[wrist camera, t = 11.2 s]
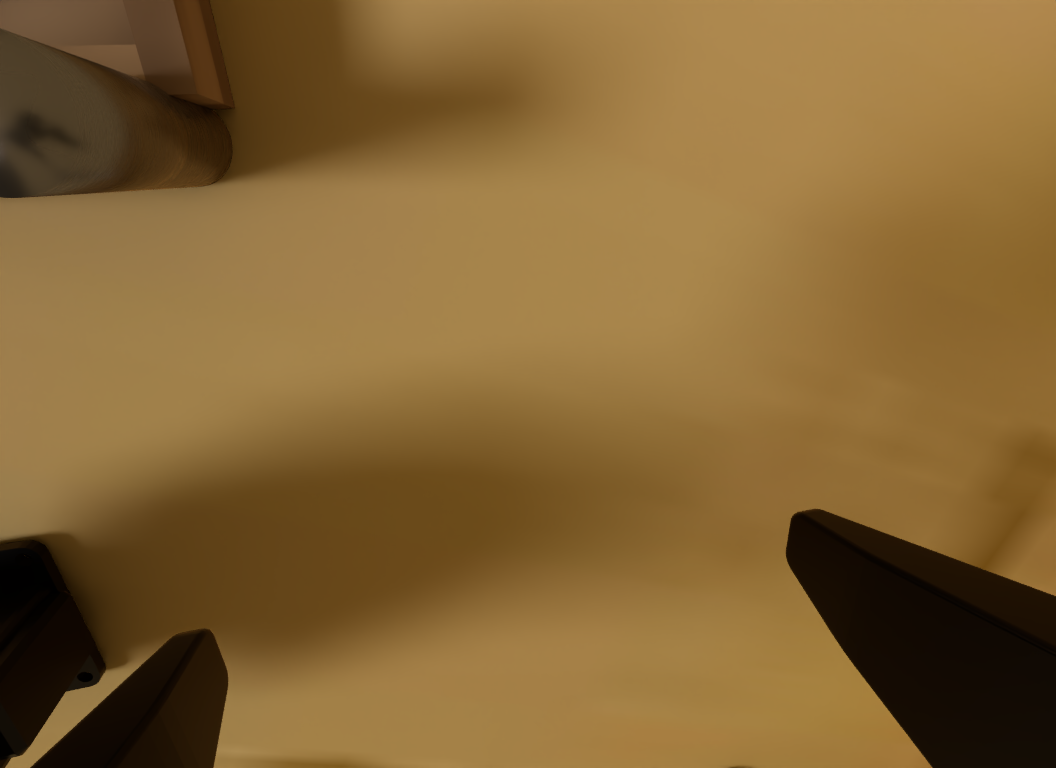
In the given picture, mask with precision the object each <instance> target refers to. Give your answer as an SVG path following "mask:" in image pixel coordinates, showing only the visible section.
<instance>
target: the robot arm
mask: <svg viewBox="0 0 1056 768" xmlns="http://www.w3.org/2000/svg"><path fill="white" fill-rule="evenodd" d="M24 554H27V555H30V556H31V557H32V558H28V557H26V556H25V555H24ZM786 558H787V562H788V564H789V566H790V568H791V570H792V572H793V573H794V575H795V576H796V578H797V579H798V581H799V583H800V584H801V586H802V587H803V589H804V590H805V592H806V594H807V595H808V597H809V598H810V600H811V601H812V603H813V605H814V606H815V608H816V609H817V611H818V612H819V614H820V616H821V617H822V619H823V620H824V622H825V623H826V625H827V627H828V628H829V630H830V631H831V633H832V634H833V636H834V638H835V639H836V641H837V642H838V643H839V645H840V646H841V648H842V649H843V651H844V652H845V654H846V655H847V656H848V658H849V659H850V660H851V662H852V663H853V665H854V666H855V667H856V669H857V670H858V671H859V672H860V674H861V675H862V676H863V678H864V679H865V680H866V682H867V683H868V684H869V685H870V687H871V688H872V689H873V691H874V692H875V693H876V695H877V696H878V697H879V698H880V700H881V701H882V702H883V704H884V705H885V706H886V708H887V709H888V710H889V712H890V713H891V714H892V715H893V717H894V718H895V719H896V721H897V722H898V723H899V725H900V726H901V727H902V728H903V730H904V731H905V732H906V734H907V735H908V736H909V738H910V739H911V740H912V742H913V743H914V744H915V745H916V747H917V748H918V749H919V751H920V752H921V753H922V755H923V756H924V757H925V758H926V760H927V761H928V762H929V764H930V765H931V766H932V768H1056V596H1054V595H1051V594H1048V593H1046V592H1043V591H1040V590H1038V589H1035V588H1032V587H1029V586H1027V585H1024V584H1021V583H1019V582H1016V581H1013V580H1010V579H1008V578H1005V577H1002V576H1000V575H997V574H994V573H991V572H989V571H986V570H983V569H981V568H978V567H975V566H973V565H970V564H967V563H964V562H962V561H959V560H956V559H954V558H951V557H948V556H945V555H943V554H940V553H937V552H935V551H932V550H929V549H927V548H924V547H921V546H918V545H916V544H913V543H910V542H908V541H905V540H902V539H899V538H897V537H894V536H891V535H889V534H886V533H883V532H880V531H878V530H875V529H872V528H870V527H867V526H864V525H862V524H859V523H856V522H853V521H851V520H848V519H845V518H843V517H840V516H837V515H834V514H832V513H829V512H826V511H824V510H821V509H811V510H806V511H801V512H797V513H795V514H794V515H793V516H792V518H791V522H790V528H789V534H788V541H787V547H786ZM105 670H106V666H105V663H104V661H103V659H102V657H101V655H100V653H99V651H98V649H97V647H96V645H95V642H94V640H93V638H92V636H91V634H90V632H89V630H88V628H87V626H86V624H85V622H84V620H83V618H82V616H81V614H80V612H79V610H78V608H77V606H76V604H75V602H74V600H73V598H72V596H71V595H70V593H69V591H68V589H67V587H66V585H65V583H64V581H63V579H62V577H61V575H60V573H59V571H58V569H57V567H56V565H55V563H54V560H53V558H52V556H51V554H50V552H49V550H48V549H47V548H46V546H45V545H43V544H42V543H40V542H37V541H33V540H25V541H19V542H13V543H7V544H1V545H0V768H5V767H6V765H7V764H8V762H9V761H10V759H11V758H12V757H17V756H20V755H23V754H24V753H25V751H26V750H27V749H28V748H29V747H30V745H31V744H32V742H33V741H34V739H35V738H36V736H37V735H38V733H39V732H40V730H41V729H42V727H43V725H44V724H45V722H46V721H47V719H48V718H49V716H50V715H51V713H52V712H53V710H54V709H55V707H56V706H57V704H58V703H59V701H60V700H61V698H62V696H63V695H64V693H65V692H66V691H70V690H75V689H80V688H85V687H90V686H93V685H95V684H97V683H98V682H99V681H100V679H101V677H102V676H103V674H104V672H105ZM88 672H89V673H88ZM227 690H228V672H227V668H226V665H225V663H224V660H223V658H222V655H221V652H220V650H219V647H218V644H217V642H216V639H215V636H214V635H213V633H212V632H211V631H210V630H209V629H198V630H193V631H188V632H183V633H179V634H176V635H175V636H173V637H172V638H171V639H169V640H168V641H167V642H166V643H165V644H164V645H163V646H162V647H161V648H160V649H158V650H157V651H156V652H155V653H154V654H153V655H152V656H151V657H150V658H149V659H148V660H146V661H145V662H144V663H143V664H142V665H141V666H140V667H139V668H138V669H137V670H136V671H135V672H133V673H132V674H131V675H130V676H129V677H128V678H127V679H126V680H125V681H124V682H123V683H122V684H120V685H119V686H118V687H117V688H116V689H115V690H114V691H113V692H112V693H111V694H110V695H109V696H107V697H106V698H105V699H104V700H103V701H102V702H101V703H100V704H99V705H98V706H97V707H96V708H94V709H93V710H92V711H91V712H90V713H89V714H88V715H87V716H86V717H85V718H84V719H83V720H81V721H80V722H79V723H78V724H77V725H76V726H75V727H74V728H73V729H72V730H71V731H69V732H68V733H67V734H66V735H65V736H64V737H63V738H62V739H61V740H60V741H59V742H58V743H56V744H55V745H54V746H53V747H52V748H51V749H50V750H49V751H48V752H47V753H46V754H45V755H43V756H42V757H41V758H40V759H39V760H38V761H37V762H36V763H35V764H34V765H33V766H32V767H30V768H213V767H214V762H215V756H216V751H217V745H218V740H219V734H220V728H221V723H222V717H223V712H224V706H225V701H226V695H227Z"/></svg>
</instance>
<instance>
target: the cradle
mask: <svg viewBox="0 0 1056 768" xmlns="http://www.w3.org/2000/svg"><path fill="white" fill-rule="evenodd" d="M229 108H235V107H234V103H233V98H232V94H231V90H230V86H229V82H228V77H227V73H226V69H225V65H224V61H223V56H222V52H221V48H220V44H219V40H218V35H217V31H216V27H215V23H214V19H213V14H212V10H211V6H210V2H209V0H0V197H3V198H22V197H38V196H55V195H71V194H88V193H104V192H121V191H137V190H154V189H170V188H187V187H200V186H206V185H210V184H212V183H214V182H216V181H217V180H219V179H220V178H221V177H222V176H223V175H224V174H225V173H226V171H227V170H228V168H229V166H230V163H231V159H232V142H231V138H230V135H229V132H228V130H227V128H226V126H225V124H224V122H223V121H222V120H221V118H220V117H219V116H218V115H217V114H216V113H215V112H214V111H213V110H212V109H229Z"/></svg>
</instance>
